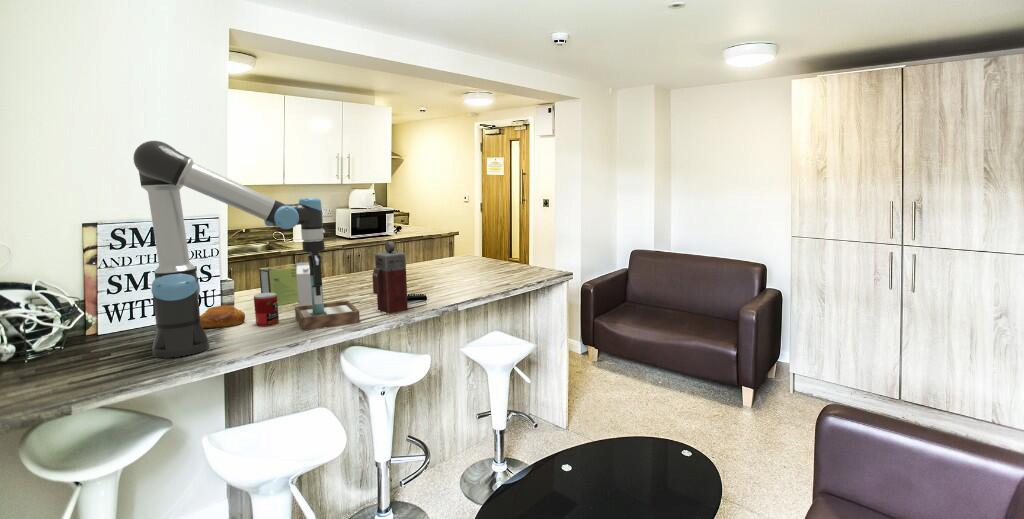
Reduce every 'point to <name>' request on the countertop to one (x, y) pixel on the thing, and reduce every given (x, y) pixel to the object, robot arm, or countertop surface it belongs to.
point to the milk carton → (304, 284)
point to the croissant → (221, 317)
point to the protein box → (280, 282)
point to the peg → (316, 307)
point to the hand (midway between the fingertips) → (317, 302)
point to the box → (327, 315)
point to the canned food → (266, 309)
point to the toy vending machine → (390, 280)
